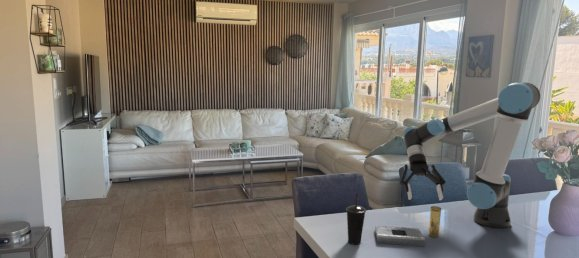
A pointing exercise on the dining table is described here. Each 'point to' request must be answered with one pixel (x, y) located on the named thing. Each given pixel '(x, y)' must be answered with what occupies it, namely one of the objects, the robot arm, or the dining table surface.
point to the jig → (399, 236)
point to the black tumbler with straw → (355, 222)
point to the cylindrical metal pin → (434, 221)
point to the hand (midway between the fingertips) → (425, 198)
